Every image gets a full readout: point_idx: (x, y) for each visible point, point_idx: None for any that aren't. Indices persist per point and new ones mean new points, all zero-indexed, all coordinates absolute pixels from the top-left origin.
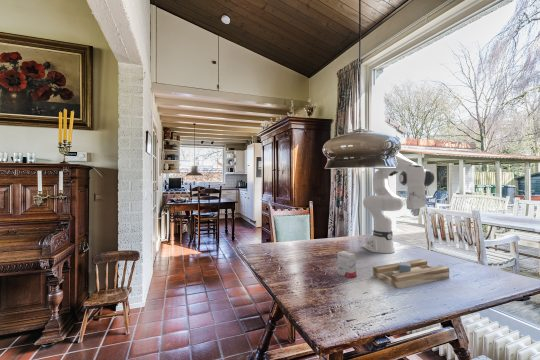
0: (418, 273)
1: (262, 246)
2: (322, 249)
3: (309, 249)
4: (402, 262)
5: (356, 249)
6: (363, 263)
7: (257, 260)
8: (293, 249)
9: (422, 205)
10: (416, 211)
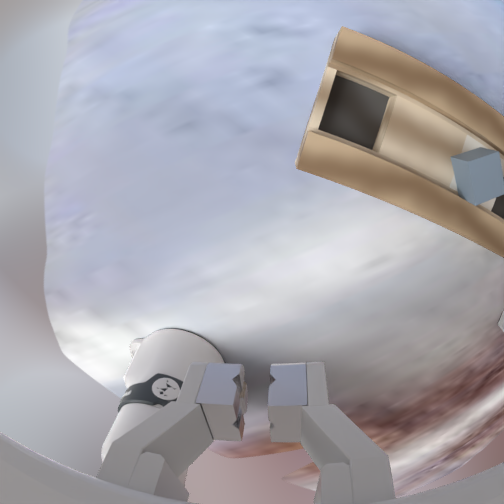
0: (498, 115)
1: None
2: None
3: None
4: (475, 194)
5: (252, 416)
6: (400, 337)
7: (481, 442)
8: None
9: (4, 473)
10: (367, 436)
